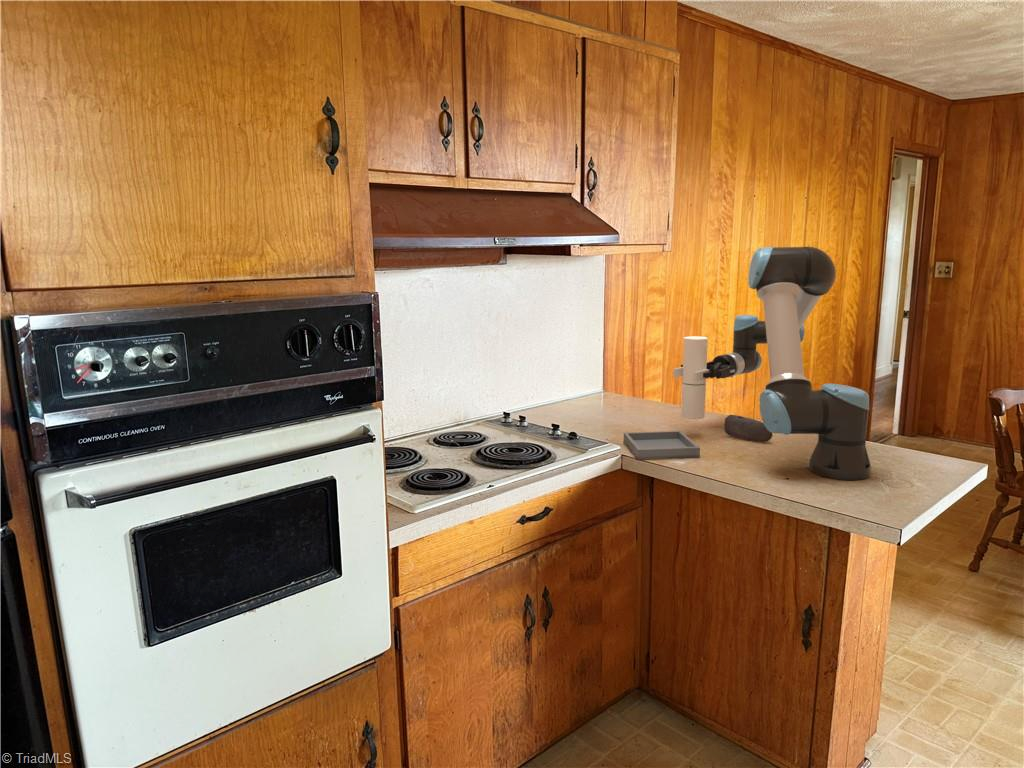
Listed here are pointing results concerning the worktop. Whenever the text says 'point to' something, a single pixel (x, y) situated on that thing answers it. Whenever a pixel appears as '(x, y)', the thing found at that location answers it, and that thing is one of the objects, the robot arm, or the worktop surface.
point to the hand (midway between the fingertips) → (684, 374)
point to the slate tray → (661, 445)
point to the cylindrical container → (693, 389)
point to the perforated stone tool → (746, 428)
